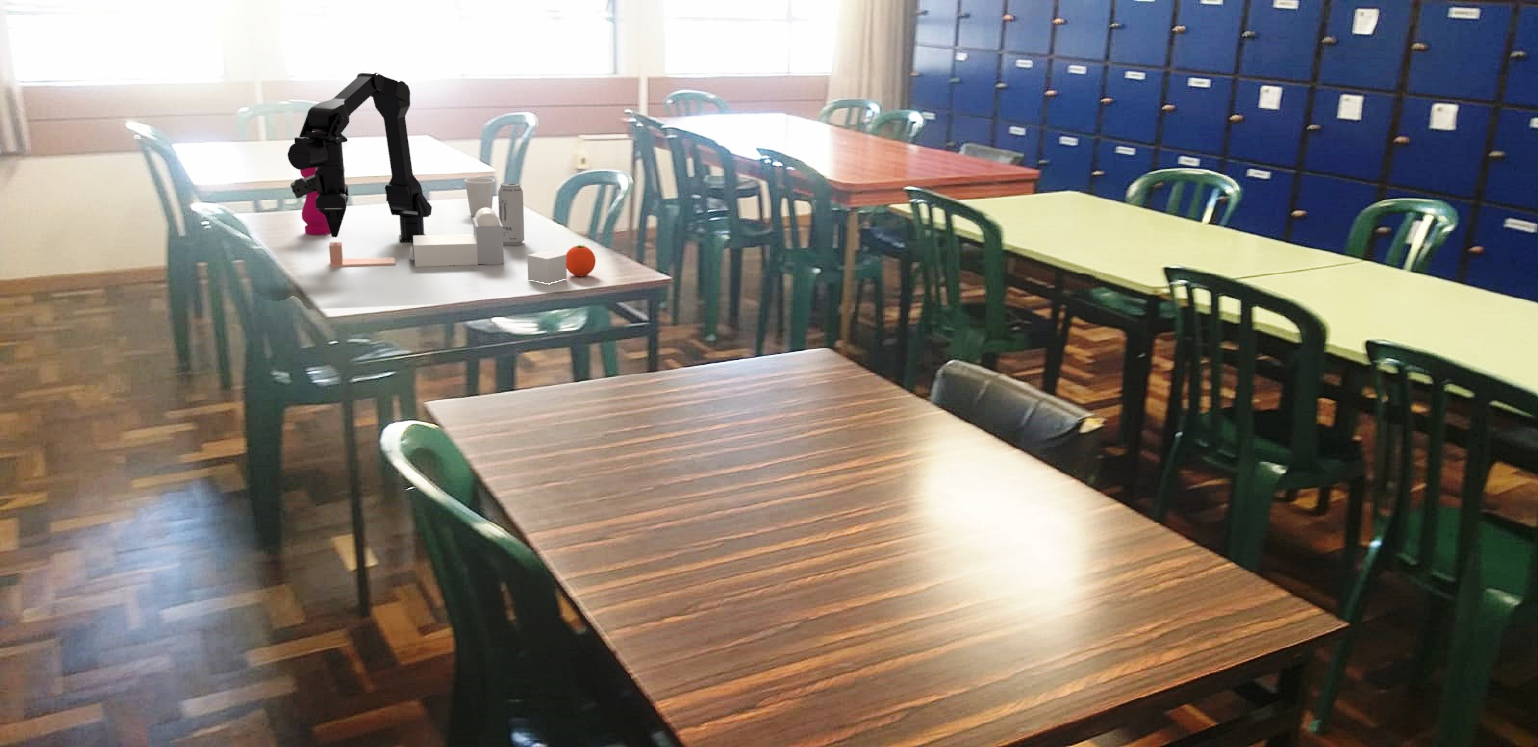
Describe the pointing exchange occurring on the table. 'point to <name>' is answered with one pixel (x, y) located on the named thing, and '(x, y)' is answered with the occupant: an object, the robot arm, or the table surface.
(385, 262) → the l-shaped wooden bracket
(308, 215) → the pepper mill
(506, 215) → the energy drink can
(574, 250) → the clementine
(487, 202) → the dixie cup
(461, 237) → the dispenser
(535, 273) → the grey cube
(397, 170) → the robot arm
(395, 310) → the table surface
